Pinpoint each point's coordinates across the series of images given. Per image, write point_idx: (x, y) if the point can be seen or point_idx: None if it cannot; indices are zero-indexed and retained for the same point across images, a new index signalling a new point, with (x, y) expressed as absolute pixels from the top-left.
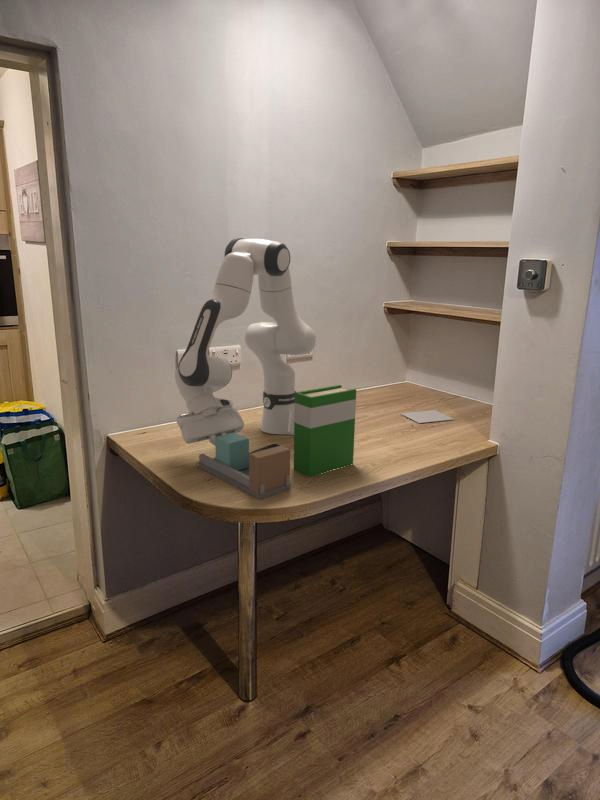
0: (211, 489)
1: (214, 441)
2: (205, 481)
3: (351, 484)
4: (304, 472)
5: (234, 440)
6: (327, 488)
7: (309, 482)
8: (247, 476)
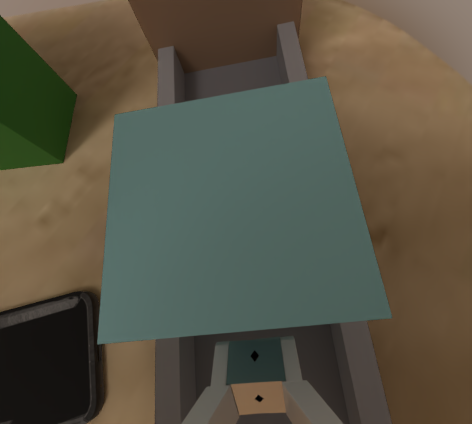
0: (402, 147)
1: (330, 416)
2: (401, 228)
3: (39, 25)
4: (65, 107)
5: (246, 118)
6: (98, 26)
7: (102, 69)
8: (288, 48)
